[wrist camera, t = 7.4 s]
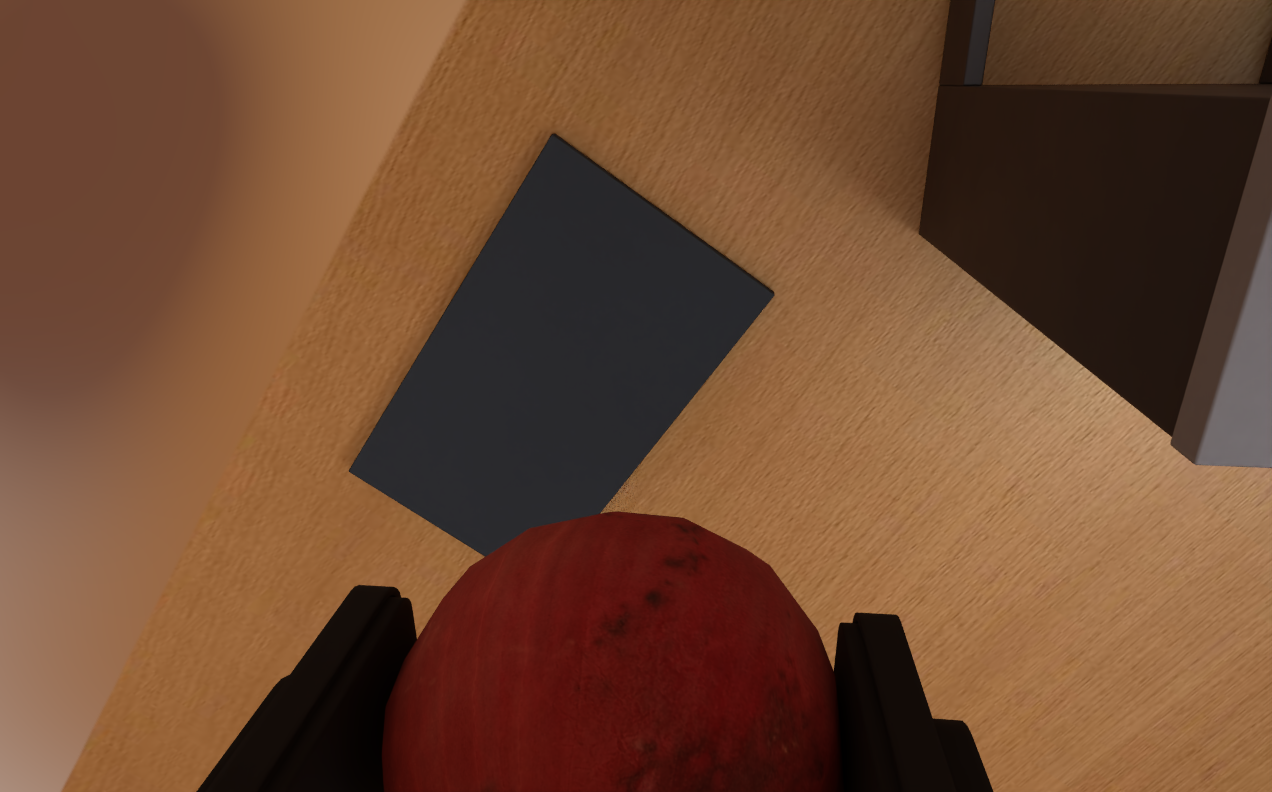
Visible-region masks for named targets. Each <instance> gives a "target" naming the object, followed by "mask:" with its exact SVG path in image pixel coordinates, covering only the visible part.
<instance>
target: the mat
mask: <svg viewBox="0 0 1272 792" xmlns="http://www.w3.org/2000/svg"><path fill="white" fill-rule="evenodd" d="M773 297H774V292H773V291H772V290H771V289H769V288H768V287H766V286H765V285H764V284H762V283H761V282H759V281H758V280H757V279H755V278H754V277H753V276H751V275H750V274H748V273H747V272H746V271H744V270H743V269H742V268H740V267H739V266H737V265H736V264H735V263H733V262H732V261H730V260H729V259H728V258H726V257H725V256H724V255H722V254H721V253H719V252H718V251H717V250H715V249H714V248H712V247H711V246H710V245H708V244H707V243H706V242H704V241H703V240H701V239H700V238H699V237H697V236H696V235H694V234H693V233H692V232H690V231H689V230H688V229H686V228H685V227H683V226H682V225H681V224H679V223H678V222H676V221H675V220H674V219H672V218H671V217H670V216H668V215H667V214H665V213H664V212H663V211H661V210H660V209H658V208H657V207H656V206H654V205H653V204H652V203H650V202H649V201H647V200H646V199H645V198H643V197H642V196H641V195H639V194H638V193H636V192H635V191H634V190H632V189H631V188H629V187H628V186H627V185H625V184H624V183H623V182H621V181H620V180H618V179H617V178H616V177H614V176H613V175H611V174H610V173H609V172H607V171H606V170H605V169H603V168H602V167H600V166H599V165H598V164H596V163H595V162H593V161H592V160H591V159H589V158H588V157H587V156H585V155H584V154H582V153H581V152H580V151H578V150H577V149H575V148H574V147H573V146H571V145H570V144H569V143H567V142H566V141H564V140H563V139H562V138H560V137H559V136H557V135H556V134H552V135H551V136H550V138H549V140H548V141H547V143H546V145H545V146H544V148H543V150H542V151H541V153H540V155H539V156H538V158H537V160H536V161H535V163H534V165H533V166H532V168H531V170H530V171H529V173H528V175H527V176H526V178H525V180H524V181H523V183H522V185H521V186H520V188H519V189H518V191H517V193H516V194H515V196H514V198H513V199H512V201H511V203H510V204H509V206H508V208H507V209H506V211H505V213H504V214H503V216H502V218H501V219H500V221H499V223H498V224H497V226H496V228H495V229H494V231H493V233H492V234H491V236H490V238H489V239H488V241H487V242H486V244H485V246H484V247H483V249H482V251H481V252H480V254H479V256H478V257H477V259H476V261H475V262H474V264H473V266H472V267H471V269H470V271H469V272H468V274H467V276H466V277H465V279H464V281H463V282H462V284H461V286H460V287H459V289H458V291H457V292H456V294H455V295H454V297H453V299H452V300H451V302H450V304H449V305H448V307H447V309H446V310H445V312H444V314H443V315H442V317H441V319H440V320H439V322H438V324H437V325H436V327H435V329H434V330H433V332H432V334H431V335H430V337H429V339H428V340H427V342H426V343H425V345H424V347H423V348H422V350H421V352H420V353H419V355H418V357H417V358H416V360H415V362H414V363H413V365H412V367H411V368H410V370H409V372H408V373H407V375H406V377H405V378H404V380H403V382H402V383H401V385H400V387H399V388H398V390H397V392H396V393H395V395H394V396H393V398H392V400H391V401H390V403H389V405H388V406H387V408H386V410H385V411H384V413H383V415H382V416H381V418H380V420H379V421H378V423H377V425H376V426H375V428H374V430H373V431H372V433H371V435H370V436H369V438H368V440H367V441H366V443H365V445H364V446H363V448H362V449H361V451H360V453H359V454H358V456H357V458H356V459H355V461H354V463H353V464H352V466H351V468H350V469H349V472H350V473H352V474H354V475H355V476H357V477H358V478H360V479H362V480H363V481H365V482H366V483H368V484H370V485H371V486H373V487H374V488H376V489H378V490H379V491H381V492H382V493H384V494H386V495H387V496H389V497H390V498H392V499H394V500H395V501H397V502H398V503H400V504H402V505H403V506H405V507H407V508H408V509H410V510H411V511H413V512H415V513H416V514H418V515H419V516H421V517H423V518H424V519H426V520H427V521H429V522H431V523H432V524H434V525H435V526H437V527H439V528H440V529H442V530H443V531H445V532H447V533H448V534H450V535H451V536H453V537H455V538H456V539H458V540H460V541H461V542H463V543H464V544H466V545H468V546H469V547H471V548H472V549H474V550H476V551H477V552H479V553H480V554H482V555H484V556H485V557H486V556H487V555H489V554H491V553H492V552H494V551H495V550H497V549H498V548H500V547H501V546H503V545H504V544H506V543H508V542H509V541H511V540H512V539H514V538H515V537H517V536H518V535H520V534H522V533H523V532H525V531H526V530H528V529H529V528H533V527H538V526H543V525H548V524H553V523H558V522H563V521H568V520H573V519H578V518H582V517H587V516H592V515H597V514H600V513H601V511H602V510H603V509H604V508H605V506H606V505H607V504H608V503H609V501H610V500H611V499H612V498H613V496H614V495H615V494H616V493H617V491H618V490H619V489H620V488H621V486H622V485H623V484H624V483H625V481H626V480H627V479H628V478H629V476H630V475H631V474H632V473H633V471H634V470H635V469H636V468H637V466H638V465H639V464H640V463H641V461H642V460H643V459H644V458H645V456H646V455H647V454H648V453H649V451H650V450H651V449H652V448H653V446H654V445H655V444H656V443H657V441H658V440H659V439H660V438H661V436H662V435H663V434H664V433H665V431H666V430H667V429H668V428H669V426H670V425H671V424H672V423H673V421H674V420H675V419H676V418H677V416H678V415H679V414H680V413H681V411H682V410H683V409H684V408H685V406H686V405H687V404H688V403H689V401H690V400H691V399H692V398H693V396H694V395H695V394H696V393H697V391H698V390H699V389H700V388H701V386H702V385H703V384H704V383H705V381H706V380H707V379H708V378H709V376H710V375H711V374H712V373H713V371H714V370H715V369H716V368H717V366H718V365H719V364H720V363H721V361H722V360H723V359H724V358H725V356H726V355H727V354H728V353H729V351H730V350H731V349H732V348H733V346H734V345H735V344H736V343H737V341H738V340H739V339H740V338H741V336H742V335H743V334H744V333H745V331H746V330H747V329H748V328H749V326H750V325H751V324H752V323H753V322H754V320H755V319H756V318H757V317H758V315H759V314H760V313H761V312H762V310H763V309H764V308H765V307H766V305H767V304H768V303H769V302H770V300H771V299H772V298H773Z"/></svg>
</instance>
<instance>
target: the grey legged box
mask: <svg viewBox="0 0 1272 792" xmlns="http://www.w3.org/2000/svg"><path fill="white" fill-rule="evenodd" d="M994 5H995V0H950V8H949V15H948V23H947V30H946V37H945V45H944V52H943V60H942V67H941V74H940V82H939V84H940V86H939V89H938V96H937V103H936V111H935V118H934V126H933V133H932V140H931V148H930V155H929V162H928V170H927V177H926V185H925V192H924V199H923V207H922V214H921V222H920V229H919V235H921V236H922V237H923V238H924V239H926V240H927V241H928V242H929V243H931V244H932V245H933V246H934V247H936V248H937V249H938V250H939V251H941V252H942V253H943V254H944V255H946V256H947V257H948V258H949V259H951V260H952V261H953V262H954V263H956V264H957V265H958V266H959V267H961V268H962V269H963V270H964V271H966V272H967V273H968V274H969V275H971V276H972V277H973V278H974V279H976V280H977V281H978V282H979V283H981V284H982V285H983V286H984V287H986V288H987V289H988V290H989V291H991V292H992V293H993V294H994V295H995V296H997V297H998V298H999V299H1000V300H1002V301H1003V302H1004V303H1005V304H1007V305H1008V306H1009V307H1010V308H1012V309H1013V310H1014V311H1015V312H1017V313H1018V314H1019V315H1020V316H1022V317H1023V318H1024V319H1025V320H1027V321H1028V322H1029V323H1030V324H1032V325H1033V326H1034V327H1035V328H1037V329H1038V330H1039V331H1040V332H1042V333H1043V334H1044V335H1045V336H1047V337H1048V338H1049V339H1050V340H1052V341H1053V342H1054V343H1055V344H1057V345H1058V346H1059V347H1060V348H1062V349H1063V350H1064V351H1065V352H1067V353H1068V354H1069V355H1070V356H1072V357H1073V358H1074V359H1075V360H1077V361H1078V362H1079V363H1080V364H1082V365H1083V366H1084V367H1085V368H1087V369H1088V370H1089V371H1090V372H1091V373H1093V374H1094V375H1095V376H1096V377H1098V378H1099V379H1100V380H1101V381H1103V382H1104V383H1105V384H1106V385H1108V386H1109V387H1110V388H1111V389H1113V390H1114V391H1115V392H1116V393H1118V394H1119V395H1120V396H1121V397H1123V398H1124V399H1125V400H1126V401H1128V402H1129V403H1130V404H1131V405H1133V406H1134V407H1135V408H1136V409H1138V410H1139V411H1140V412H1141V413H1143V414H1144V415H1145V416H1146V417H1148V418H1149V419H1150V420H1151V421H1153V422H1154V423H1155V424H1156V425H1158V426H1159V427H1160V428H1161V429H1163V430H1164V431H1165V432H1166V433H1168V434H1169V435H1170V436H1171V437H1172V439H1171V446H1173V447H1174V448H1175V449H1176V450H1177V451H1179V452H1180V453H1181V454H1182V455H1184V456H1185V457H1186V458H1187V459H1188V460H1190V461H1191V462H1192V463H1193V464H1195V465H1212V466H1237V467H1261V468H1272V39H1271V43H1270V46H1269V50H1268V53H1267V57H1266V61H1265V64H1264V68H1263V71H1262V75H1261V78H1260V83H1261V84H1099V85H982V82H983V76H984V69H985V63H986V56H987V50H988V44H989V37H990V31H991V24H992V18H993V11H994Z"/></svg>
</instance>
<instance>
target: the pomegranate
mask: <svg viewBox="0 0 1272 792" xmlns="http://www.w3.org/2000/svg"><path fill="white" fill-rule="evenodd" d="M382 769H383V786H384V792H844V779H843V762H842V746H841V730H840V719H839V709H838V699H837V690H836V680H835V674H834V671H833V669H832V666H831V664H830V661H829V658H828V656H827V653H826V651H825V648H824V645H823V643H822V640H821V637H820V635H819V632H818V630H817V629H816V627H815V626H814V625H813V623H812V622H811V621H810V619H809V618H808V617H807V615H806V614H805V612H804V611H803V610H802V608H801V607H800V606H799V604H798V603H797V602H796V600H795V599H794V598H793V596H792V595H791V593H790V592H789V591H788V589H787V588H786V587H785V585H784V584H783V583H782V581H781V580H780V579H779V577H778V576H777V574H776V573H775V572H774V570H773V569H772V568H771V566H770V565H768V564H767V563H765V562H764V561H762V560H761V559H760V558H758V557H757V556H755V555H754V554H752V553H751V552H749V551H748V550H747V549H745V548H743V547H741V546H739V545H737V544H735V543H733V542H731V541H729V540H727V539H725V538H723V537H721V536H719V535H717V534H715V533H713V532H711V531H709V530H707V529H705V528H703V527H701V526H699V525H697V524H695V523H693V522H691V521H689V520H687V519H685V518H679V517H668V516H658V515H648V514H637V513H627V512H608V513H602V514H597V515H592V516H587V517H582V518H578V519H573V520H568V521H563V522H558V523H553V524H548V525H543V526H538V527H533V528H529V529H528V530H526V531H525V532H523V533H522V534H520V535H518V536H517V537H515V538H514V539H512V540H511V541H509V542H508V543H506V544H504V545H503V546H501V547H500V548H498V549H497V550H495V551H494V552H492V553H491V554H489V555H487V556H486V557H484V558H483V559H481V560H480V561H478V562H477V563H475V564H473V565H472V566H470V567H469V568H468V570H467V571H466V572H465V573H464V574H463V576H462V577H461V578H460V579H459V580H458V581H457V583H456V584H455V585H454V586H453V587H452V588H451V590H450V591H449V592H448V593H447V594H446V596H445V597H444V598H443V599H442V601H441V602H440V604H439V606H438V607H437V609H436V610H435V612H434V613H433V615H432V617H431V618H430V620H429V621H428V623H427V625H426V626H425V628H424V629H423V631H422V633H421V634H420V636H419V637H418V639H417V641H416V642H415V644H414V645H413V647H412V648H411V650H410V652H409V653H408V655H407V656H406V658H405V660H404V662H403V664H402V667H401V669H400V672H399V674H398V677H397V679H396V682H395V684H394V687H393V689H392V692H391V694H390V697H389V699H388V702H387V704H386V707H385V720H384V732H383V744H382Z"/></svg>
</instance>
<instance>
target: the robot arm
mask: <svg viewBox="0 0 1272 792" xmlns="http://www.w3.org/2000/svg"><path fill="white" fill-rule="evenodd" d="M416 641H417V637H416V630H415V623H414V616H413V610H412V605H411V601H410V600H409V599H408V598H401V595H400V592H399V590H398V589H397V588H395V587H385V586H366V585H358V586H355V587H354V588H353V589H352V590H351V591H350V593H349V594H348V595H347V597H346V598H345V600H344V601H343V602H342V604H341V605H340V606H339V608H338V609H337V611H336V612H335V613H334V615H333V616H332V618H331V619H330V620H329V622H328V623H327V624H326V626H325V627H324V629H323V630H322V631H321V633H320V634H319V635H318V637H317V638H316V640H315V641H314V642H313V644H312V645H311V646H310V648H309V649H308V651H307V652H306V653H305V655H304V656H303V658H302V659H301V660H300V662H299V663H298V664H297V666H296V667H295V669H294V670H293V671H292V673H291V674H290V675H288V676H286V677H284V678H282V679H281V680H280V681H279V682H278V683H277V684H276V685H275V686H274V687H273V689H272V690H271V691H270V693H269V694H268V695H267V697H266V698H265V700H264V701H263V702H262V704H261V705H260V706H259V708H258V709H257V710H256V712H255V713H254V714H253V716H252V717H251V719H250V720H249V721H248V723H247V724H246V725H245V727H244V728H243V729H242V731H241V732H240V733H239V735H238V736H237V738H236V739H235V740H234V742H233V743H232V744H231V746H230V747H229V748H228V750H227V751H226V752H225V754H224V755H223V757H222V758H221V759H220V761H219V762H218V763H217V765H216V766H215V767H214V769H213V770H212V771H211V773H210V774H209V775H208V777H207V778H206V780H205V781H204V782H203V784H202V785H201V786H200V788H199V789H198V790H197V792H384V786H383V769H382V744H383V732H384V720H385V707H386V704H387V702H388V699H389V697H390V694H391V692H392V689H393V687H394V684H395V682H396V679H397V677H398V674H399V672H400V669H401V667H402V664H403V662H404V660H405V658H406V656H407V655H408V653H409V652H410V650H411V648H412V647H413V645H414V644H415V642H416ZM834 674H835V680H836V690H837V699H838V709H839V719H840V730H841V746H842V762H843V779H844V792H993V789H992V787H991V784H990V781H989V779H988V776H987V773H986V771H985V768H984V766H983V763H982V760H981V758H980V755H979V752H978V750H977V747H976V745H975V742H974V739H973V737H972V734H971V732H970V730H969V728H968V726H967V725H966V724H965V723H964V722H963V721H960V720H945V719H933V718H932V715H931V712H930V709H929V706H928V703H927V700H926V697H925V694H924V691H923V688H922V685H921V682H920V679H919V676H918V673H917V670H916V666H915V663H914V660H913V657H912V654H911V651H910V648H909V645H908V642H907V639H906V636H905V633H904V630H903V627H902V624H901V621H900V619H899V617H898V616H897V615H890V614H872V613H855V615H854V618H853V623H840V625H839V629H838V638H837V647H836V656H835V665H834Z"/></svg>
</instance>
